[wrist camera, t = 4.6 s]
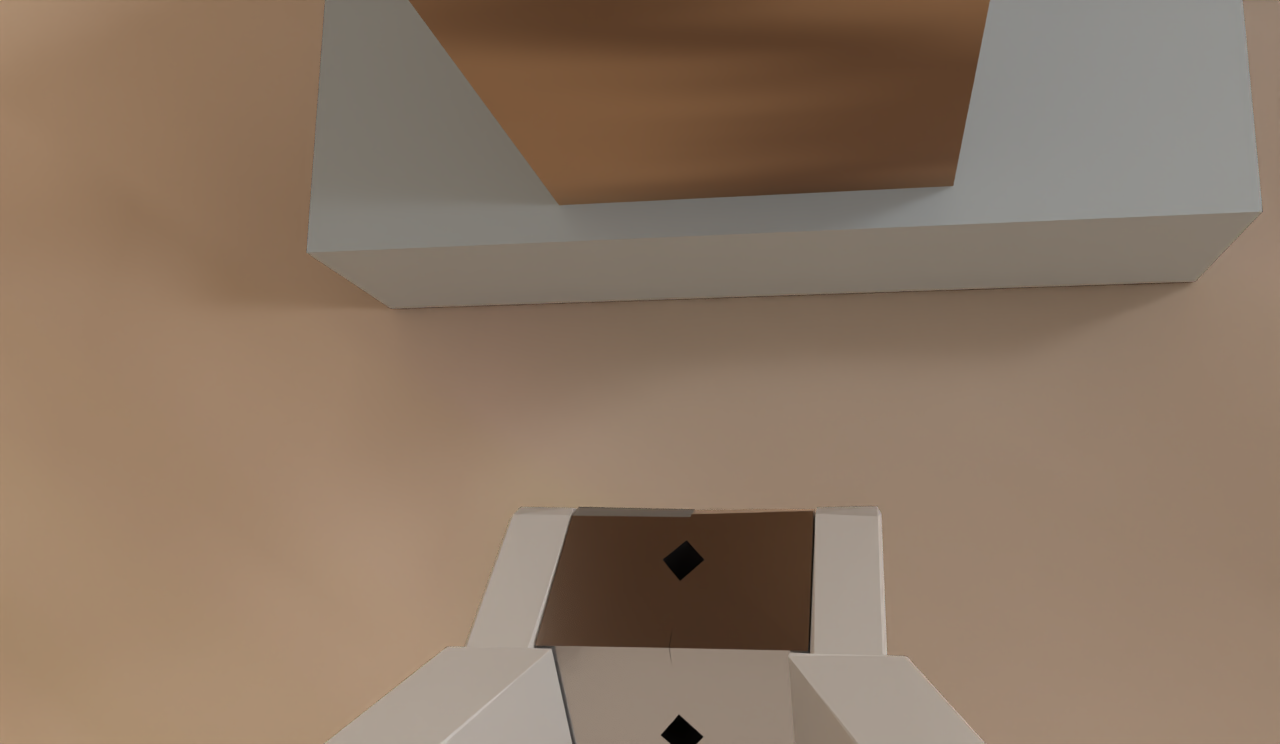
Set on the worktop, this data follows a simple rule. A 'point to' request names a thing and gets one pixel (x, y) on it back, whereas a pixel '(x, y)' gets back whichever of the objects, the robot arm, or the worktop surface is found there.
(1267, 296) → the worktop surface
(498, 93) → the brown boxy piece
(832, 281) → the board
